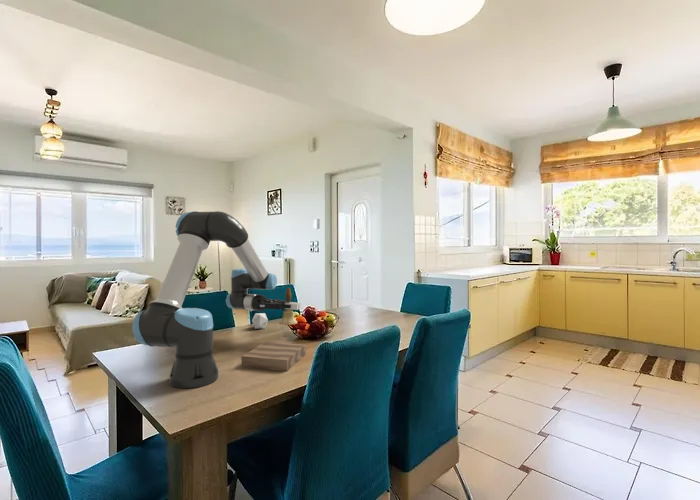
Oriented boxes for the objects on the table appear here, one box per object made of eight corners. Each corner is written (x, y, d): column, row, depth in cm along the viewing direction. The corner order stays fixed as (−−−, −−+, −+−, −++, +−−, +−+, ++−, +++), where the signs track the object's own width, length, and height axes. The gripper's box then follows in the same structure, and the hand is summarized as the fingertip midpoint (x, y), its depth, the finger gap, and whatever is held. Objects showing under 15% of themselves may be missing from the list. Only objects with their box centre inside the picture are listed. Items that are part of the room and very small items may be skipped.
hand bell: (276, 322, 168) (276, 287, 168) (293, 320, 173) (293, 286, 172) (282, 326, 161) (282, 289, 161) (300, 323, 165) (300, 288, 165)
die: (261, 332, 191) (271, 315, 194) (247, 323, 191) (257, 307, 194) (262, 333, 198) (271, 318, 202) (248, 326, 198) (258, 310, 202)
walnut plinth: (287, 371, 132) (287, 360, 132) (241, 366, 136) (241, 356, 136) (305, 354, 152) (305, 344, 151) (265, 351, 156) (265, 341, 155)
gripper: (265, 308, 180) (307, 311, 171) (245, 313, 167) (290, 317, 158) (265, 292, 180) (307, 295, 171) (245, 296, 167) (290, 300, 158)
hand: (299, 306), depth 165 cm, fingers closed on hand bell, 2 cm apart
